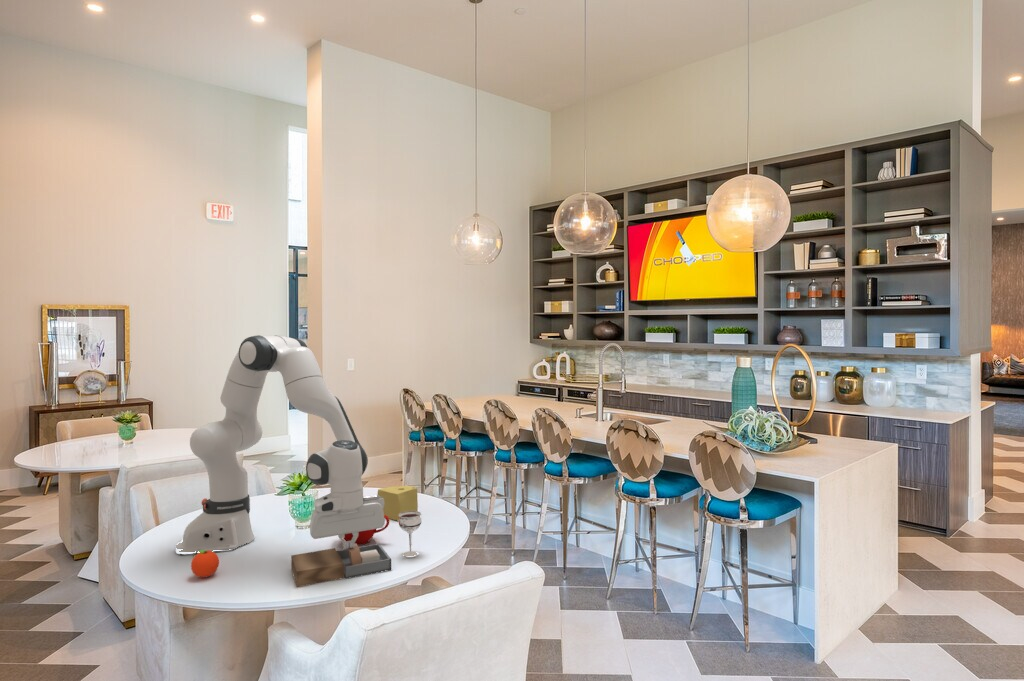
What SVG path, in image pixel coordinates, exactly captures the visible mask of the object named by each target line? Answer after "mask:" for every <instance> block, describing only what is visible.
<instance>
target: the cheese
mask: <svg viewBox="0 0 1024 681" xmlns="http://www.w3.org/2000/svg"><path fill="white" fill-rule="evenodd" d="M377 495H379V496H381V497H383V499H384V508H383V513H384V515H386V516H388V518H389V520H392V519H393V521H396V520H397V522H398V521H399V518H400V517H399V514H400V513H402V512H405V511H418V508H419V506H418V505H419V504H418V503H419V502H418V500H419V499H418V488H417V487H415V486H412V485H406V484H405V485H399V486H393V485H392V486H386V487H381V488H379V489H378V490H377Z"/></svg>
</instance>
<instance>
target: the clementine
mask: <svg viewBox="0 0 1024 681" xmlns="http://www.w3.org/2000/svg"><path fill="white" fill-rule="evenodd" d="M199 552H200V553H198V554H196V553H197V552H196V553H195V554H192V556H193V557H192V560H191V563H190V569H191V572H192V574H194V576H196V577H199V578H207V577H206V576H208V577H211V576H213V575H214V574H215V573H216V571H217V570H218V569H219V566H220V559H219V558H220V557H219V556H218V554H217V553H216V552H212V551H204V550H203V551H199ZM210 575H211V576H210Z"/></svg>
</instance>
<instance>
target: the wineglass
mask: <svg viewBox="0 0 1024 681" xmlns="http://www.w3.org/2000/svg"><path fill="white" fill-rule="evenodd" d="M421 515H422V513H421V512H420V511H418V510H417V511H405V512H402V513H400V514H399V517H400V518H399V521H397V522H398V526H399V528H400V529H401V530H402V531H404V532H406V533H407V534H408V541H409V542H408V543H409V551H406V552H404V554H403V553H402V554H403V555H404V556H414V555H417V553H416V552H417V551H415V550H412V536H413V535H412V534H413V533H414V532H415V531H416V530H418V529H419V527H420V526H421V525H422V517H421Z"/></svg>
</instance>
